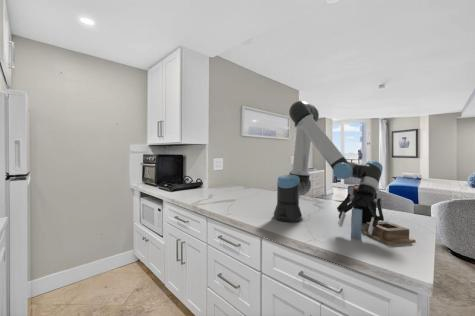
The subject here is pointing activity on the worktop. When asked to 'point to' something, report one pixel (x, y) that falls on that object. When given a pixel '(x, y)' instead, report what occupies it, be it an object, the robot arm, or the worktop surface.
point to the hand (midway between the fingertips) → (354, 229)
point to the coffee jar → (366, 209)
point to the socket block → (389, 233)
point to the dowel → (356, 223)
